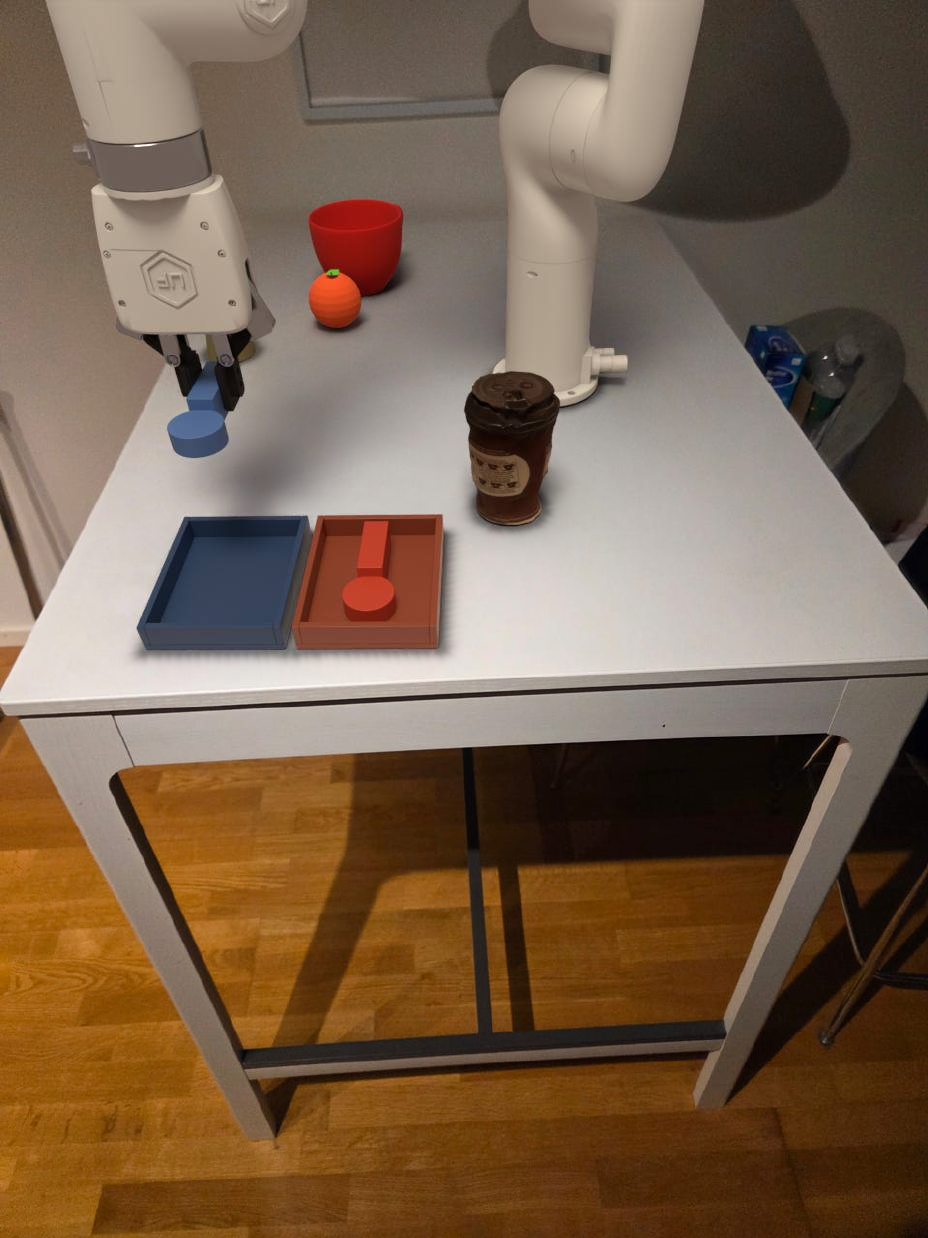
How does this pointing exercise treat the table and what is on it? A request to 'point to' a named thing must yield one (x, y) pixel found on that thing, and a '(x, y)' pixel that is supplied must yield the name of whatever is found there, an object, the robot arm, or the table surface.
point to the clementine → (334, 299)
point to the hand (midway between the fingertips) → (216, 401)
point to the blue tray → (228, 584)
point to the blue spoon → (201, 419)
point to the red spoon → (371, 578)
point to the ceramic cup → (359, 240)
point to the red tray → (336, 566)
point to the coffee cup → (510, 443)
